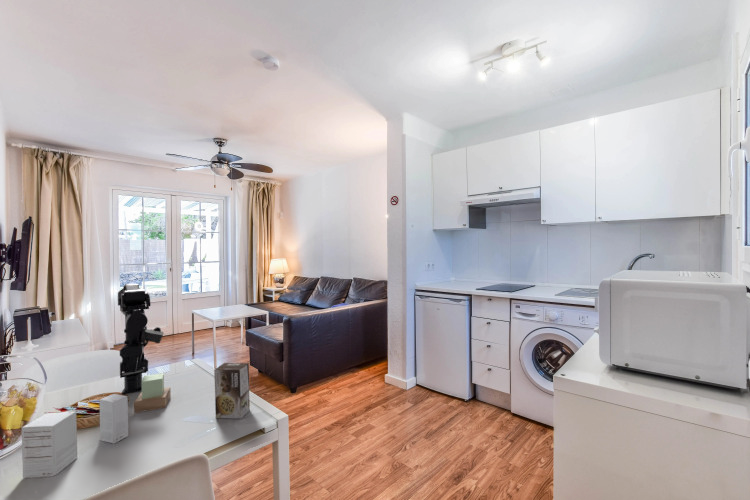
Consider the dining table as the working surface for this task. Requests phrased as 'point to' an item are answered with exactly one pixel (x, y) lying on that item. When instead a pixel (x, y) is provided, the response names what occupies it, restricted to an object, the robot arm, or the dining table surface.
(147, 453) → the dining table surface
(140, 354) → the robot arm
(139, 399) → the walnut block
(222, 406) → the grey cardboard box
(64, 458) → the supplement box
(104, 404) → the skincare box
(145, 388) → the sage cube
